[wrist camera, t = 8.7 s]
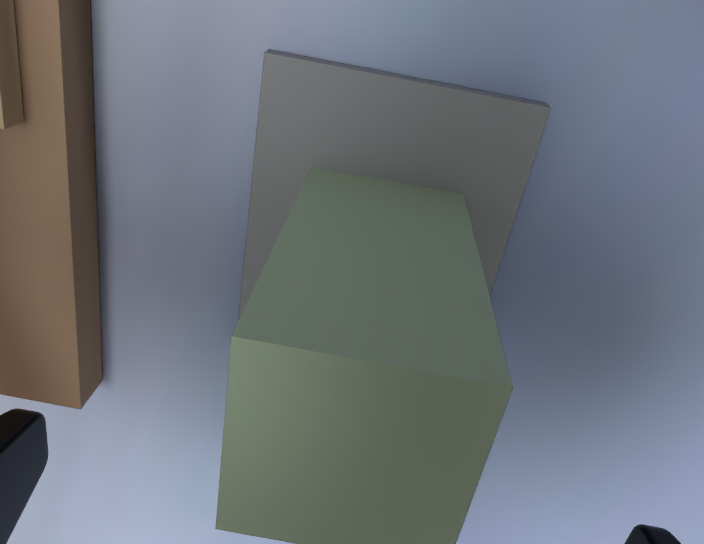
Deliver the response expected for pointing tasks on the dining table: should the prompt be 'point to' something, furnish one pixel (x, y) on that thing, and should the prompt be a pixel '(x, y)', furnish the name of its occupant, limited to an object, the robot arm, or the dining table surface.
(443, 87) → the rubber mat
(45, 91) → the well board
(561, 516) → the dining table surface
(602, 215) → the dining table surface
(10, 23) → the sliding lid
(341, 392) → the sage block
